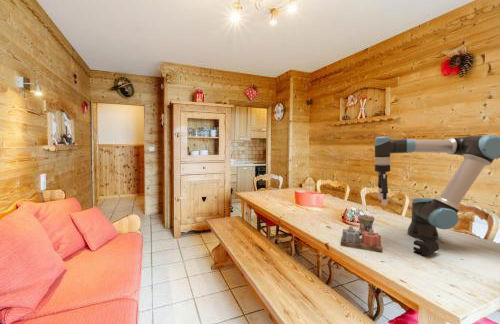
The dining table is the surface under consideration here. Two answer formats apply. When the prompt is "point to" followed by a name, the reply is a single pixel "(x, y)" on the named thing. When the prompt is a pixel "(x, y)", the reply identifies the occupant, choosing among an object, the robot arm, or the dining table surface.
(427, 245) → the end cap
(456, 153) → the robot arm
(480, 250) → the dining table surface
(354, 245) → the gear board
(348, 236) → the gear
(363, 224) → the mug
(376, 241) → the red gear
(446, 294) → the dining table surface
